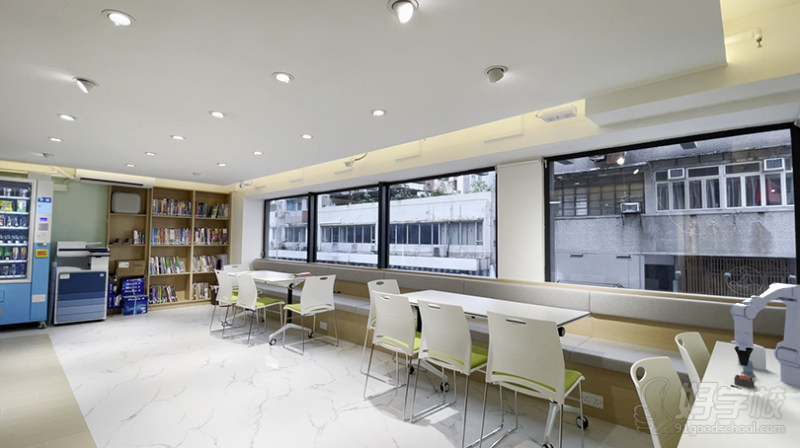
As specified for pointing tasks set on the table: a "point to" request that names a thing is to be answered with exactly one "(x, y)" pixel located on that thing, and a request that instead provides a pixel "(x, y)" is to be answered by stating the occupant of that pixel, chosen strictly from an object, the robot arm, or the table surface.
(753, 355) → the photo printer
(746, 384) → the game board
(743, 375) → the dome
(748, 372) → the pawn
